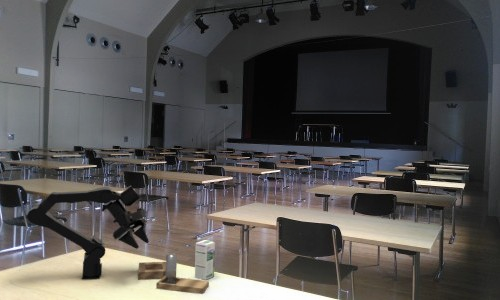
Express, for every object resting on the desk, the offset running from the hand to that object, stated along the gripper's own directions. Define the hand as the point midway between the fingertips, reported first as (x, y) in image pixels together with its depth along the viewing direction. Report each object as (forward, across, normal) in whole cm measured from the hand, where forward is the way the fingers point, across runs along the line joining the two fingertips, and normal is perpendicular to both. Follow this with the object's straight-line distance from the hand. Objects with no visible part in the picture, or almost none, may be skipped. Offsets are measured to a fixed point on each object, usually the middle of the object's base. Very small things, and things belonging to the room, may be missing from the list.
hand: (143, 245), depth 166 cm
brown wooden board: (+22, -4, -5) cm, 23 cm away
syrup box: (+25, +9, -8) cm, 28 cm away
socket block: (+11, +6, +7) cm, 15 cm away
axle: (+19, -4, -1) cm, 19 cm away
